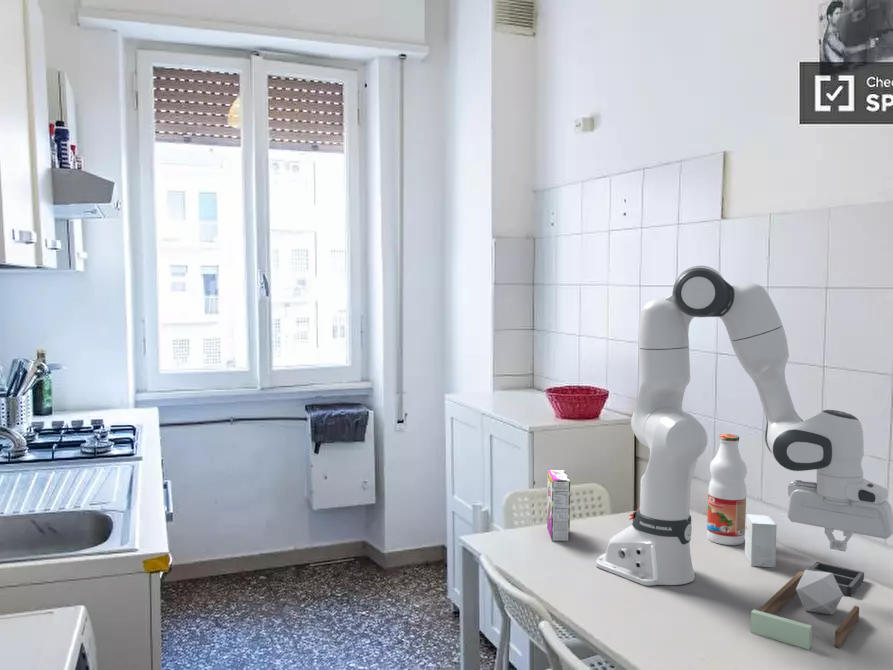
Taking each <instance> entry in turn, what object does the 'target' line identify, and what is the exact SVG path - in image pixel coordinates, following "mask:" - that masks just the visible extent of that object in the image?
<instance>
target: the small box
mask: <svg viewBox="0 0 893 670" xmlns="http://www.w3.org/2000/svg"><path fill="white" fill-rule="evenodd" d="M776 549H777V524H776V523H775V521H774V520H773V519H772V517H771V516H770V515H764V514H751V513H746V517H745V539H744V556H745V557H746V559H747V561H748V562H749V564H750V566H751V567H764V568H776V559H777V558H776V555H777V551H776Z"/></svg>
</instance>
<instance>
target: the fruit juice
mask: <svg viewBox="0 0 893 670" xmlns="http://www.w3.org/2000/svg"><path fill="white" fill-rule="evenodd" d="M718 436H719V438H718V439H719V443H720V444H719V448H718V450H717V452H716V455H715V456H714V458H713V459H712V460H711V461H710V464H709V472H710V477H711V478H710V481H709V483H708V490H707V491H708V492H707V493H708V494H707V519H706V521H707V522H706V523H707V524H706V537H707V539H708V540H709V541H711V542H713V543H716V544H719V545H725V546H740V545H742V544H744V543H745V528H746V514H747V513H746V511H747V509H746V508H747V485H746V483H745V478H746V476H747V466H746V463H745V461H744V460H743V458H742V457H741V454H740V451H739V446H738V445H739V442H740V436H739V435H737V434H733V433H721V434H719V435H718Z"/></svg>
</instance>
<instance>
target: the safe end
mask: <svg viewBox="0 0 893 670" xmlns="http://www.w3.org/2000/svg"><path fill="white" fill-rule="evenodd" d="M758 610H759V609H753V610H751V611H750V631H749V632H750V633H753V634H756V635H759V636H763V637H765V638H769V639H773V640H775V641H780V642H781V643H782V642H783V643H785V644H789V645H793V646H795V647H799V648H802V649H806V650H810V649H811V647H812V633H813V632H812V630H813V626H812V625H811V624H808V623H804V622H801V621H797V620H793V619H790V618H786V617H783V616H778V615H776V614H775V615H772V614H769V613H765V612H762V611H758Z"/></svg>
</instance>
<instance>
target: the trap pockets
mask: <svg viewBox="0 0 893 670" xmlns="http://www.w3.org/2000/svg"><path fill="white" fill-rule="evenodd" d="M808 570H811V571H820V572H828V573H832V574H833V576H834V578H835V580H836V582H837V584H838V586H839V588H840V590H841V592H842V594H843V596H846V597H850V598H851V597H852V596H853V595H854V594H855V592H856V591H857V590H858V589H859V588H858V587H860V586H861V585H862V584H863V583H864V581H865V572H864V571H861V570H856V569H851V568H846V567H844V566H843V567H842V566H838V565H835V564H830V563H825V562H821V561H816V562H815V563H814V564H813V565H812V566H811V567H809V569H808ZM863 580H864V581H863ZM862 582H863V583H862ZM861 583H862V584H861Z"/></svg>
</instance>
